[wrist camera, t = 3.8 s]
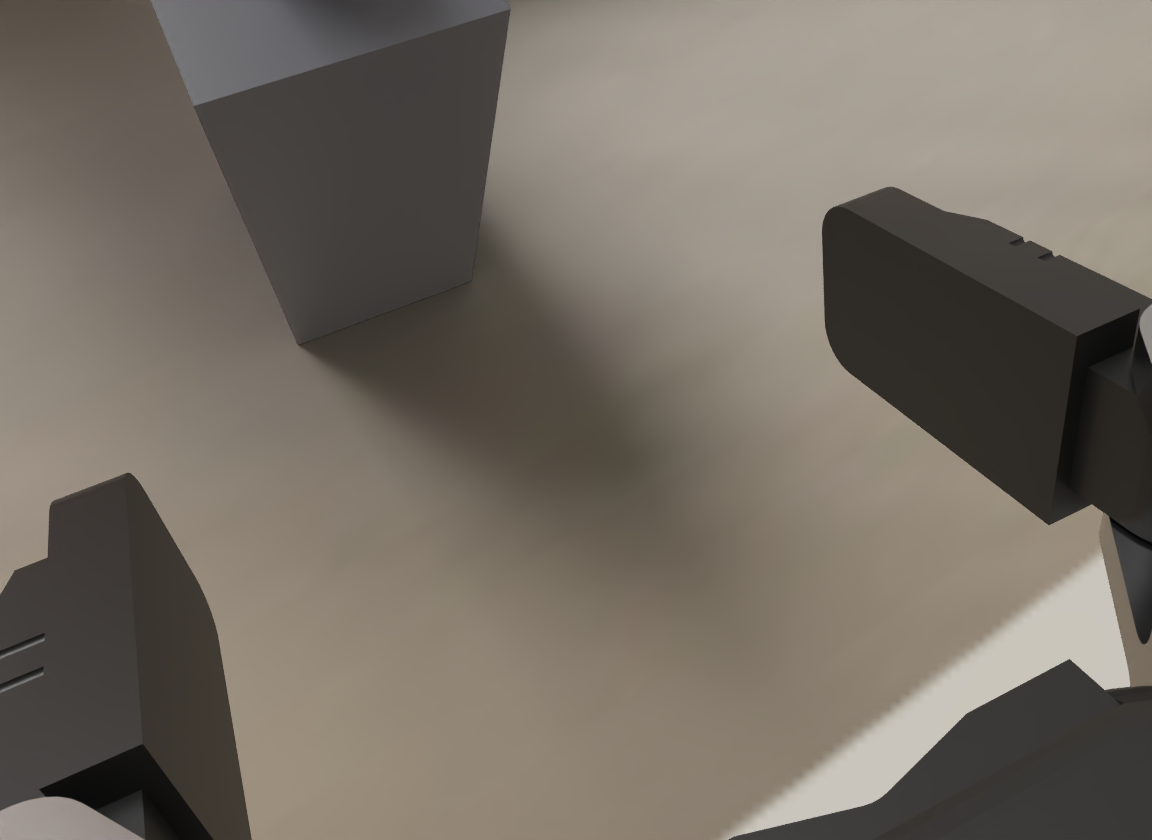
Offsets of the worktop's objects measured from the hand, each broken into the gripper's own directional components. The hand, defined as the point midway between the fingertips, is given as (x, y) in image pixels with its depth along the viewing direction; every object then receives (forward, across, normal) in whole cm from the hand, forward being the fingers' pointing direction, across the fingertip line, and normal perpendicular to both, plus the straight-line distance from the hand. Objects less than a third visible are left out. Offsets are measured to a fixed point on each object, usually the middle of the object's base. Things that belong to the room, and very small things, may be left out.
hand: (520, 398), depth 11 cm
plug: (+14, 0, +4) cm, 15 cm away
